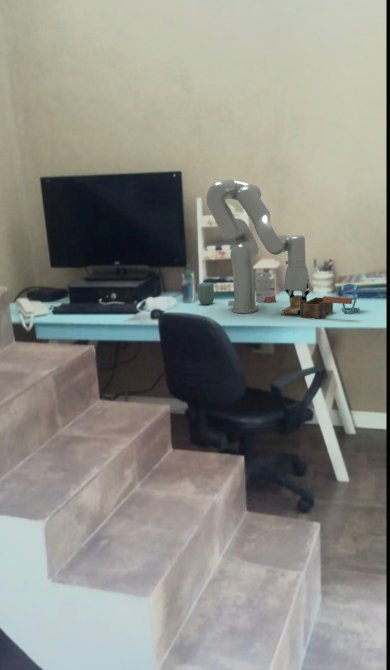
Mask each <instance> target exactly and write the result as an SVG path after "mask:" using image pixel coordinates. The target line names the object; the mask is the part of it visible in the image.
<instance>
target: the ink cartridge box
mask: <svg viewBox="0 0 390 670" xmlns="http://www.w3.org/2000/svg"><path fill="white" fill-rule="evenodd" d="M275 279H276V278H275V277H272V276H271V275H270V272H264V271H263V272H262V271H261V272H260V271H254V284H255V303H265V304H266V303H267V304H272V303H275V302H276V299H277V298H276V282H275Z"/></svg>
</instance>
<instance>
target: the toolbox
mask: <svg viewBox="0 0 390 670" xmlns="http://www.w3.org/2000/svg"><path fill="white" fill-rule="evenodd" d="M333 307H334V303H324V302H323V297H314V298H311V299H309V300H307V302H305V300H302V301H300V316H299V317H300V318H302V319H312V318H315V319H314V320H324V319H326V316H328V315H330V314H331V313H333V312H334V308H333Z"/></svg>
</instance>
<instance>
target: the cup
mask: <svg viewBox="0 0 390 670" xmlns="http://www.w3.org/2000/svg"><path fill="white" fill-rule="evenodd" d="M196 288H197V298H198V301H199V303H200V304H201V305H207V306H208V305H212V303H213V302H214V300H215V287H214V283H213V282H199V283H198V284H197V286H196Z"/></svg>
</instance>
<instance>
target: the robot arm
mask: <svg viewBox="0 0 390 670" xmlns="http://www.w3.org/2000/svg"><path fill="white" fill-rule="evenodd" d="M261 196H262V192H261V189H260V188H259V187H258V186H257V185H255V184H252V183H247V182H243V181H238V180H234V179H223V180H222V179H221V180H217V181H216V182H214V183H212V184H211V186H209V188H208V190H207V193H206V205H207V207H208V210H209V213H211V215H212V217H213V219H214V221H215V223H216V225H217V227H218V229H219V231H220V233H221V235H222V237H223V239H224V240H226V241H227V242H231V243H232V242H234V244H233V246H232V247H231V249H230V256H229V257H230V261H231V268H232V277H233V295H234V296H233V297H234V300H229V301H228V303H227V305H228V306H231V307H232V308H231V312H233V313H235V314H251V313H256V312H258V311H259V310H260V307H259V305H256V288H255V270H254V264H253V259H255V258H256V257H257V256H258V254H259V244H258V242H257V240H256V239H255V236H254V235H253V232H252V231H251V229H250V227H249V225H248V224H247V222H246V221H245V220H243V219H241V218H236V217H235V215H234V213H233V211H232V208H231V207H229V205H228V204H227V201H226V200H235V201H237V202H238V203H239V204H240V206H241V207H242V208H243V210H244V211H245V212H246V214H247V216H248V217H249V219H250V221H251V222H252V224H253V227H254V230H255V231H256V235H257V236H258V237H257V238H258V239H259V240H260V242H261V243H262V245H263V246H264V248H265V249H266V251H267V252H268V253H269V254H272V255H273V256H274V255H275V256H276V255H280V254H282V253H285V252H287V260H286V261H285V265H287V267H286V268H285V269H286V270H285V278H284V284H283V285H282V288H281V289H282V290H283V291H285V292H286V294H288V295H287V296H289V297H288V298H289V299H290V298H291V297H294V296H295V294H294V293H295V291H300V292H301V295H302V297H301V299H302V300H305V302H307V301H308V300H307V299H308V298H307V296H308V295H309V294H310V293H311V292H313V291H314V287H313V286H312V285H311V283H310V275H309V274H310V273H309V269H308V266H306V264H307V263H306V260H307V259H306V239H305V237H304V236H303V235H299V234H297V235H295V234H294V235H285V234H279V235H278V234H277V233H276V231H275V229H274V228H273V226H272V222H271V214H270V210H269V209H268V208H267V206H266V205H265V203H264V202H263V200H262V199H261ZM307 289H308V290H307Z"/></svg>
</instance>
